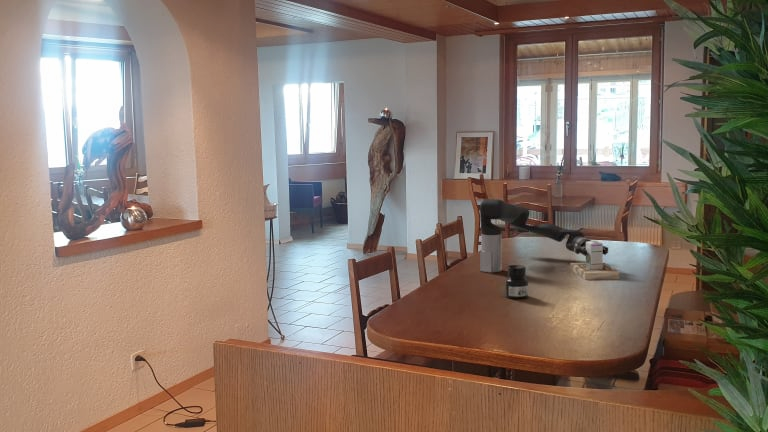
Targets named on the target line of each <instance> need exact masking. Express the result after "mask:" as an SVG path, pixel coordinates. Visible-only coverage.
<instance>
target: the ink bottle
mask: <svg viewBox="0 0 768 432" xmlns="http://www.w3.org/2000/svg"><path fill="white" fill-rule="evenodd" d="M526 269H527V268H526V266H525V265H522V264H521V265H520V264H514V265H513V264H512V265H508V266H507V276H508V277H507V278H506V279H505V280H504V281H505V282H504V284H505V285H504V290H505V291H504V296H505V297H506V298H508V299H511V300H512V299H514V300H520V299H521V300H523V299H527V298H528V297H529V280H528V279H527V278H526V273H527V272H526Z"/></svg>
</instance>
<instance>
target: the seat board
mask: <svg viewBox="0 0 768 432" xmlns="http://www.w3.org/2000/svg"><path fill="white" fill-rule="evenodd" d="M570 270H571V271H573V273H575V274H576V275H578V276H579V277H580V278H582V279H583V280H585V281H586V280H587V281H589V280H593V281H594V280H619V279H620V271H618V270H617V269H615V268H614V267H612V266H610V265H608V264H606V263H605V262H603V269H591V270H587V269H586V262H570Z"/></svg>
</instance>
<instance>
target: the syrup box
mask: <svg viewBox="0 0 768 432" xmlns="http://www.w3.org/2000/svg"><path fill="white" fill-rule="evenodd" d="M603 246H604V245H603V242H600V241H598V240H591V241H588V242H586V250H587V255H586V256H585V263H586V269H587V270H591V269H603V263H604V262H603V256H604V254H603Z"/></svg>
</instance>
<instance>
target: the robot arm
mask: <svg viewBox="0 0 768 432" xmlns="http://www.w3.org/2000/svg"><path fill="white" fill-rule="evenodd" d="M530 214H531V213H530V210H529V209H528V208H527V207H525V206H522V205H518V204H517V205H516V204H513V203H511V202H505V201H504V200H502V199H496V198H495V199H494V198H493V199H492V198H491V199H490V198H485V199H482V200H481V201H480V205H479V215H480V233H481V235H480V236H481V241H480V243H481V246H480V247H481V249H480V255H479V256H480V258H479V259H480V260H479V261H480V263H479V265H480V269H479V270H480V272H485V273H490V274H491V273H499V272H502V269H503V268H502V267H503V266H502V258H503V257H502V252H503V251H502V237H503V236H502V234H503V233H502V232H503V231H502V228H501V227H500V226H498V225H495V224H494V223H493V222H491V220H500V221H501V222H503V223H508V225H510V226H512V227H514V228H516V229H518V230H519V229H520V230H522V231H523V230H524V231H526V232H528V233H533V234H536V235H541V236H543V237H546V238H549V240H553V241H556V242H559V243H560V242H562V241H564V239H565V238H566V237H567V236H568V237H567V239H566V242H565V247H566V250H568V251H570V252H572V253H573V252H574V253H575V254H576V255H580V254H581V255H583V256H584V257H586V255H587V250H586V242H588V241H592V240H591V239H589V238H587V237H585V234H584V233H583V231H580V230H577V229H576V230H575V229H568V228H563V227H561V226H558V225H556V224H553V223H542V224H536V225H529V224H527V222H528V219H529V217H530ZM607 254H609V247H608V246H605V245H603V256H606V255H607Z"/></svg>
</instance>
